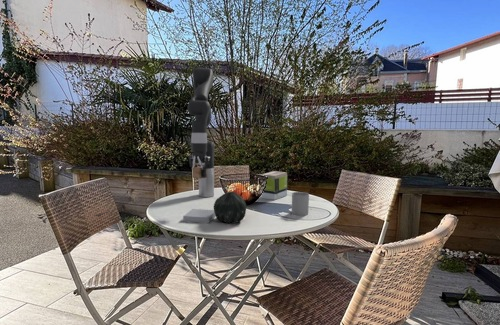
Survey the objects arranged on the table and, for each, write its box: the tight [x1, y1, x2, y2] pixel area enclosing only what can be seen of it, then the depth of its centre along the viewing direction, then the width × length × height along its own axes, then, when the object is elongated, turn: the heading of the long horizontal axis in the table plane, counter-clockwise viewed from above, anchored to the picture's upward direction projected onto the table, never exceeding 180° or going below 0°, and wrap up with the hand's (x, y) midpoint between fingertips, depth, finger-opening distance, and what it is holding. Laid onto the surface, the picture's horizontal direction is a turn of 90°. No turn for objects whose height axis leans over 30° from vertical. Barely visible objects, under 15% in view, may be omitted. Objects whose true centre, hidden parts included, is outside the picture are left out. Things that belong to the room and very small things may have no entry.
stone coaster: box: [183, 208, 216, 224], centre depth 147 cm, size 12×12×2 cm
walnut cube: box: [191, 166, 207, 180], centre depth 154 cm, size 5×5×5 cm
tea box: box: [260, 170, 288, 201], centre depth 190 cm, size 15×10×15 cm
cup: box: [291, 191, 310, 217], centre depth 156 cm, size 8×8×10 cm
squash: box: [213, 191, 247, 224], centre depth 143 cm, size 14×15×15 cm
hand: (199, 176), depth 154 cm, fingers closed on walnut cube, 5 cm apart
